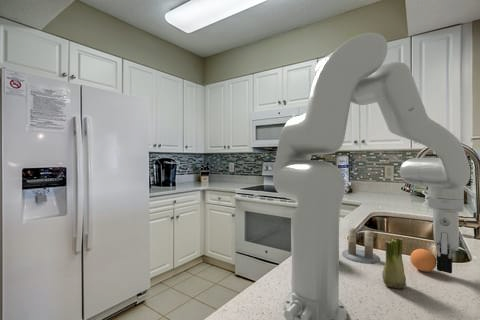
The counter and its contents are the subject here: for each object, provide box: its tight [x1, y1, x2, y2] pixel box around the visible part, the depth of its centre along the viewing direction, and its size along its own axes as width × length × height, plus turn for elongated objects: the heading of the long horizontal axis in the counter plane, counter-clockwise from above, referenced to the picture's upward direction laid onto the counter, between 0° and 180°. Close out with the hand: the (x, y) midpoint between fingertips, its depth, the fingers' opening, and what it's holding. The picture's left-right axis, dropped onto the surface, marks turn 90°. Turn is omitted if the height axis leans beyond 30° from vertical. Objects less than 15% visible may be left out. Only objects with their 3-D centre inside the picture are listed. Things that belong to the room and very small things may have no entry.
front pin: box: [364, 229, 374, 259], centre depth 79 cm, size 2×2×8 cm
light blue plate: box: [341, 248, 381, 264], centre depth 81 cm, size 11×11×1 cm
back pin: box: [347, 227, 357, 255], centre depth 83 cm, size 2×2×8 cm
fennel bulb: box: [381, 237, 407, 290], centre depth 62 cm, size 6×5×12 cm
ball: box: [409, 248, 437, 272], centre depth 71 cm, size 6×6×6 cm
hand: (444, 270), depth 68 cm, fingers closed
